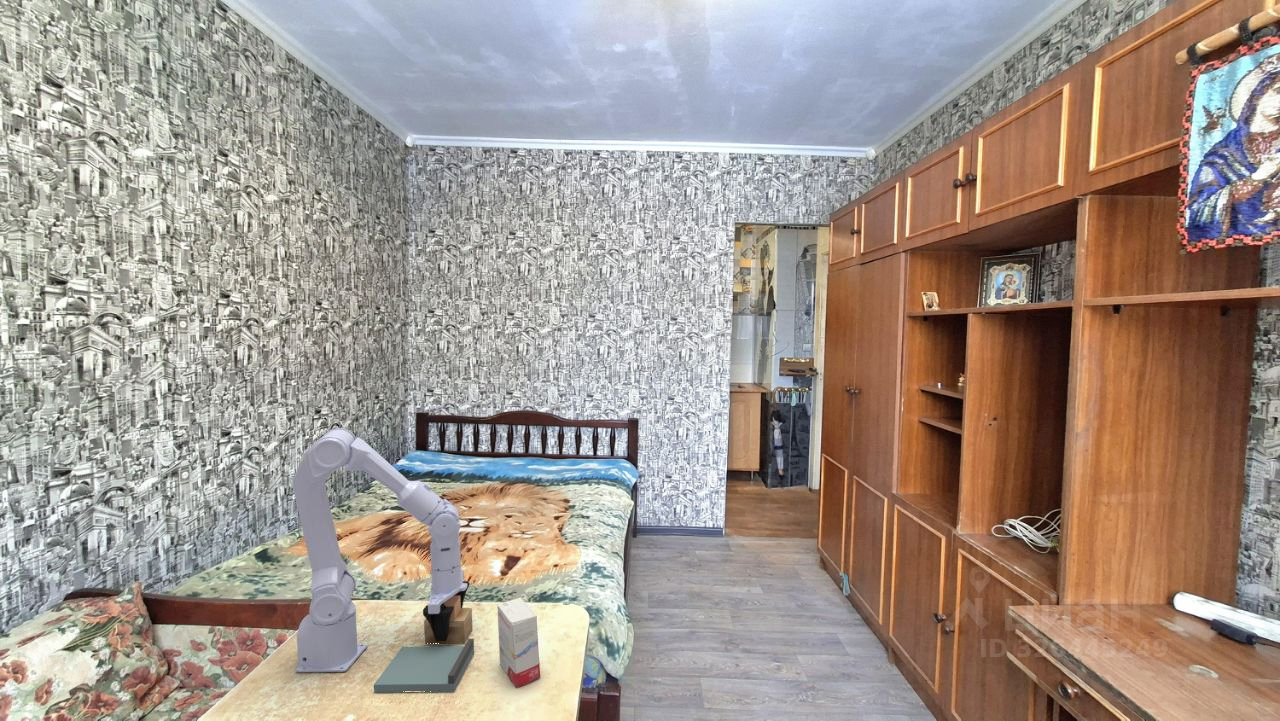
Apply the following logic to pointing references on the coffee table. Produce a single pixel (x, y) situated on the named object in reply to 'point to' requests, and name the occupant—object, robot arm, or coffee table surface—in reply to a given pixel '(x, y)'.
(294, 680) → the coffee table surface
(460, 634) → the tan rectangular block
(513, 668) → the ink box
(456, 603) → the carton
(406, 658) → the dock
